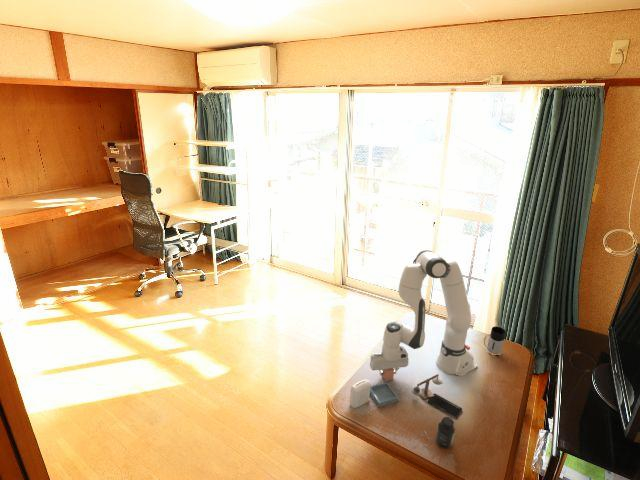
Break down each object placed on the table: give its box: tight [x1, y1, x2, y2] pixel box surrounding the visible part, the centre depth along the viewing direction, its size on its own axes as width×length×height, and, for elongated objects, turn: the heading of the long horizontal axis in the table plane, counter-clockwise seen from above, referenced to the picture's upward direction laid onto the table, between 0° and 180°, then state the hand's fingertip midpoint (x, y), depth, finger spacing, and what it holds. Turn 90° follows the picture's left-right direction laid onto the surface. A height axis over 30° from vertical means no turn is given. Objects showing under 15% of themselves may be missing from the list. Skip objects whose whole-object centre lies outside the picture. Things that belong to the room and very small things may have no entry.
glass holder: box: [483, 325, 507, 354], centre depth 216 cm, size 9×14×15 cm, turn 113°
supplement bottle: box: [435, 416, 456, 449], centre depth 158 cm, size 7×7×12 cm
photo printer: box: [349, 379, 372, 409], centre depth 177 cm, size 10×4×12 cm, turn 124°
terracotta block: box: [381, 368, 395, 382], centre depth 195 cm, size 4×4×6 cm
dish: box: [370, 381, 400, 408], centre depth 183 cm, size 11×11×2 cm
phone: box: [427, 393, 463, 419], centre depth 179 cm, size 8×1×15 cm
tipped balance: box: [411, 373, 443, 401], centre depth 184 cm, size 17×6×11 cm, turn 111°
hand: (387, 373), depth 196 cm, fingers open, 6 cm apart
